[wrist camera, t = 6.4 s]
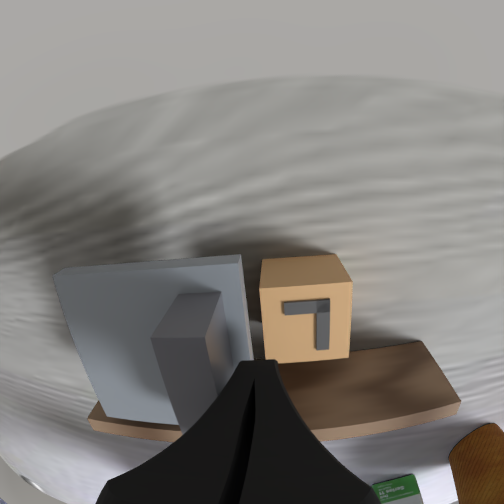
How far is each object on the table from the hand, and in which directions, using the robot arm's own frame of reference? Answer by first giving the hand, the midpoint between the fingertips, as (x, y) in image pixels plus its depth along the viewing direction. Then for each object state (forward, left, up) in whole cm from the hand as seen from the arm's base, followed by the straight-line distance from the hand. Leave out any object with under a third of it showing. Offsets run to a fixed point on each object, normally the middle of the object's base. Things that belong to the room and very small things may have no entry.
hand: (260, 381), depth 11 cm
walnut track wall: (-4, -3, -7) cm, 9 cm away
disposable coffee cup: (-1, -28, -8) cm, 29 cm away
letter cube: (+1, -1, -8) cm, 8 cm away
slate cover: (-3, +3, -2) cm, 5 cm away
